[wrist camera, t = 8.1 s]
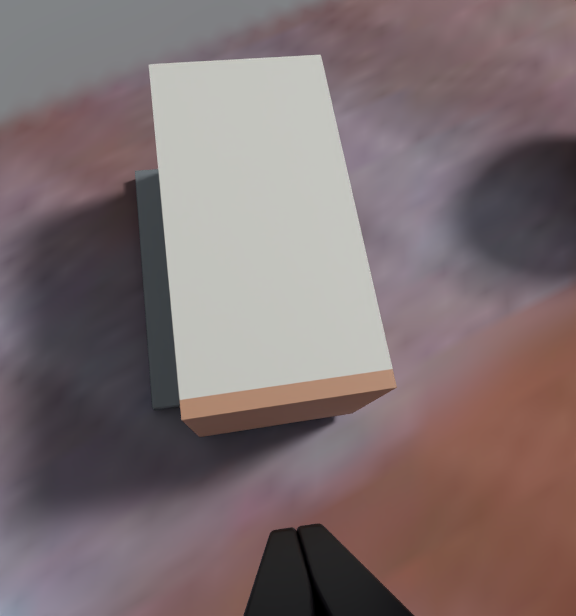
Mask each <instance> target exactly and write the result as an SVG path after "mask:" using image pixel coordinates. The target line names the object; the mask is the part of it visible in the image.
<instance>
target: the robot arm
mask: <svg viewBox="0 0 576 616" xmlns="http://www.w3.org/2000/svg"><path fill="white" fill-rule="evenodd" d="M244 616H414V615H413V614H412V613H411V612H410V611H409V610H408V609H407V608H406V607H405V606H404V605H403V604H402V603H401V602H400V601H399V600H398V599H397V598H396V597H395V596H394V595H393V594H392V593H391V592H390V591H389V590H388V589H387V588H386V587H385V586H384V585H383V584H382V583H381V582H380V581H379V580H378V579H377V578H376V577H375V576H374V575H373V574H372V573H371V572H370V571H369V570H368V569H367V568H366V567H365V566H364V565H363V564H362V563H361V562H360V561H359V560H358V559H357V558H355V557H354V556H353V555H352V554H351V553H350V552H349V551H348V550H347V549H346V548H345V547H344V546H343V545H342V544H341V543H340V542H339V541H338V540H337V539H336V538H335V537H334V536H333V535H332V534H331V533H330V532H329V531H328V530H327V529H326V528H325V527H324V526H323V525H322V524H311V525H304V526H299V527H298V528H297V531H296V530H295V528H292V527H291V528H284V529H278V530H273V531H272V532H271V533H270V535H269V538H268V541H267V544H266V547H265V550H264V553H263V556H262V559H261V563H260V566H259V569H258V572H257V575H256V578H255V581H254V584H253V587H252V591H251V594H250V597H249V600H248V603H247V606H246V609H245V612H244Z"/></svg>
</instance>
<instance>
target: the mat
mask: <svg viewBox="0 0 576 616" xmlns="http://www.w3.org/2000/svg"><path fill="white" fill-rule="evenodd" d="M135 178H136V191H137V205H138V219H139V232H140V246H141V260H142V273H143V287H144V301H145V314H146V328H147V342H148V355H149V369H150V383H151V396H152V408H153V409H154V410H158V409H165V408H172V407H179V406H180V399H179V388H178V377H177V366H176V355H175V345H174V334H173V323H172V312H171V301H170V290H169V279H168V268H167V257H166V247H165V236H164V225H163V214H162V203H161V192H160V181H159V170H158V169H154V170H142V171H135Z"/></svg>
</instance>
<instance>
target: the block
mask: <svg viewBox="0 0 576 616" xmlns="http://www.w3.org/2000/svg"><path fill="white" fill-rule="evenodd" d="M149 72H150V83H151V94H152V105H153V116H154V127H155V138H156V149H157V160H158V170H159V181H160V192H161V203H162V214H163V225H164V236H165V247H166V257H167V268H168V279H169V290H170V301H171V312H172V323H173V334H174V345H175V355H176V366H177V377H178V388H179V399H180V410H181V420H182V421H183V422H184V423H185V424H186V425H187V426H188V427H189V428H190V429H192V430H193V431H194V432H195V433H196V434H197V435H198V436H199V437H204V436H210V435H216V434H223V433H229V432H236V431H242V430H248V429H255V428H261V427H268V426H274V425H280V424H287V423H293V422H300V421H306V420H312V419H319V418H325V417H332V416H338V415H344V414H351V413H353V412H355V411H357V410H359V409H360V408H362V407H364V406H366V405H367V404H369V403H371V402H372V401H374V400H376V399H378V398H379V397H381V396H383V395H385V394H386V393H388V392H390V391H391V390H393V389H395V388H397V386H396V382H395V378H394V373H393V369H392V365H391V360H390V356H389V351H388V347H387V343H386V338H385V334H384V330H383V325H382V321H381V316H380V312H379V308H378V303H377V299H376V295H375V290H374V286H373V281H372V277H371V273H370V268H369V264H368V260H367V255H366V251H365V247H364V242H363V238H362V233H361V229H360V225H359V220H358V216H357V212H356V207H355V203H354V198H353V194H352V190H351V185H350V181H349V177H348V172H347V168H346V163H345V159H344V155H343V150H342V146H341V142H340V137H339V133H338V128H337V124H336V120H335V115H334V111H333V107H332V102H331V98H330V93H329V89H328V85H327V80H326V76H325V72H324V67H323V63H322V58H321V55H308V56H290V57H272V58H254V59H236V60H218V61H200V62H182V63H164V64H149Z"/></svg>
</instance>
